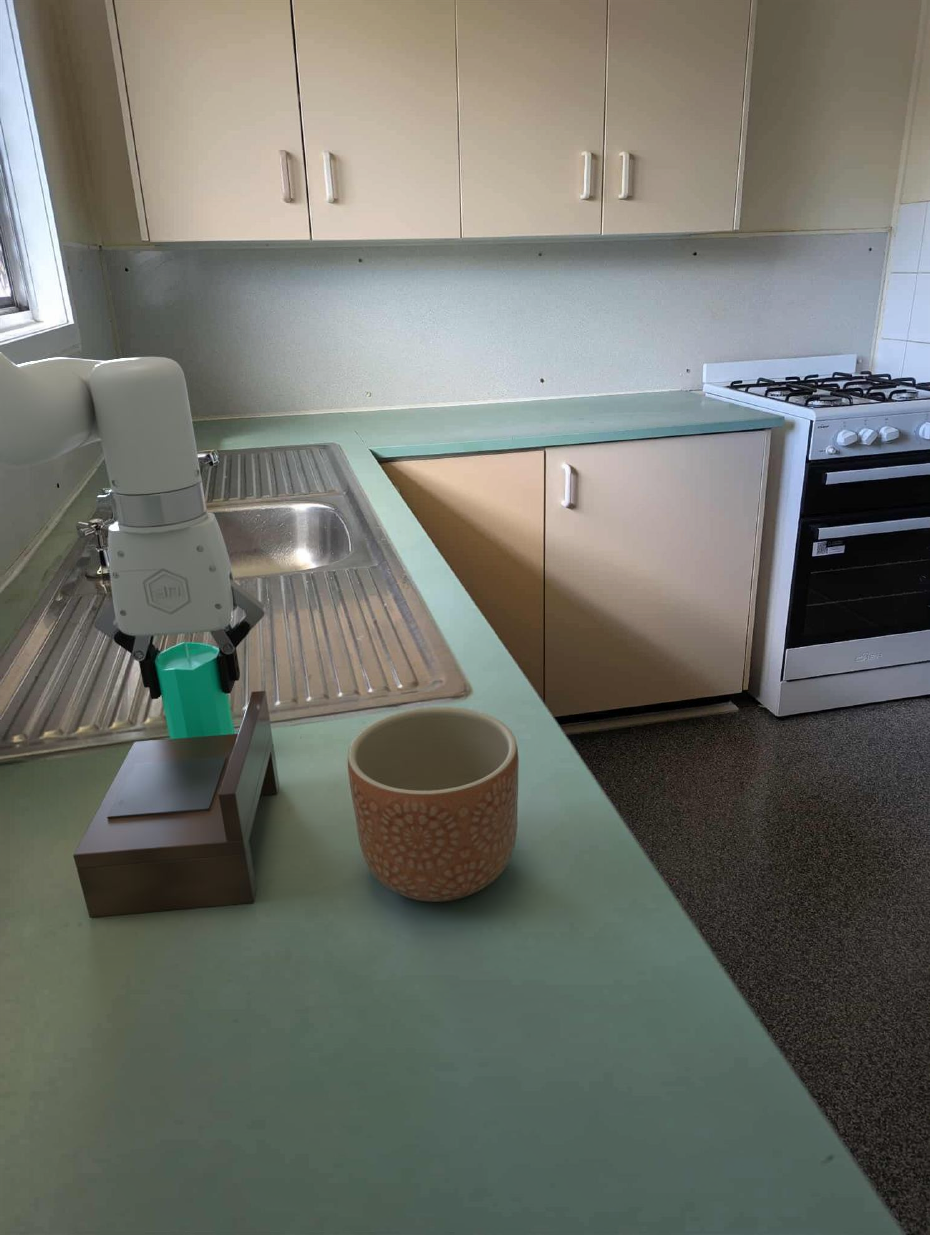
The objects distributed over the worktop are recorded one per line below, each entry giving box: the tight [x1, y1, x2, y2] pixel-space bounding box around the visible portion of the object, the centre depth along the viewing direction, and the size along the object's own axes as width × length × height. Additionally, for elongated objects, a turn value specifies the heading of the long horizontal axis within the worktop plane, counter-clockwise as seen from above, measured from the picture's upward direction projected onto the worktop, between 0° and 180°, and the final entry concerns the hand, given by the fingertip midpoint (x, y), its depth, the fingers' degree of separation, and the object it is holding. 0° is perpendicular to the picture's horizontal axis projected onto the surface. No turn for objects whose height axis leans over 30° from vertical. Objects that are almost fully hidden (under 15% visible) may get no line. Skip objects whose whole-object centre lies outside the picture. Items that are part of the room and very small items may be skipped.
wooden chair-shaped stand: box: [72, 690, 280, 918], centre depth 70 cm, size 12×16×10 cm
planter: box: [347, 706, 520, 903], centre depth 65 cm, size 12×12×11 cm
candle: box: [155, 639, 236, 739], centre depth 83 cm, size 6×6×12 cm
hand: (194, 688), depth 83 cm, fingers closed on candle, 5 cm apart
